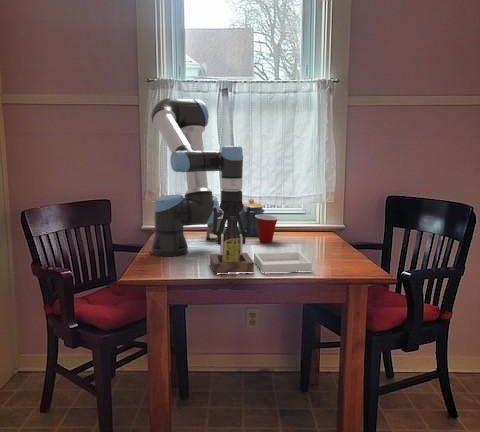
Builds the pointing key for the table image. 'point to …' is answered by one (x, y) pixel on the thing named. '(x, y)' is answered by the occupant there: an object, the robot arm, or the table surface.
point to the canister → (251, 216)
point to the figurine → (210, 226)
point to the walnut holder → (231, 264)
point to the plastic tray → (282, 262)
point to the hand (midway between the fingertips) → (231, 253)
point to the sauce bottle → (231, 241)
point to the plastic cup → (266, 227)
